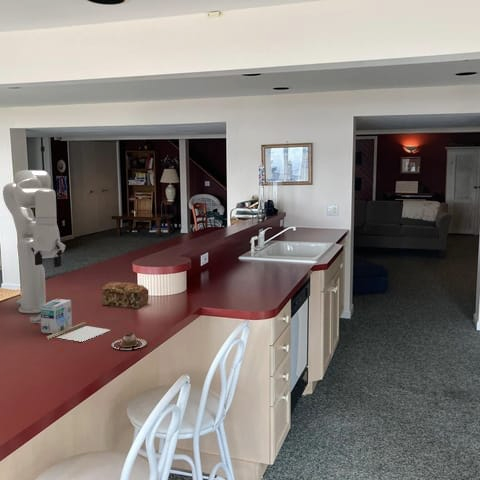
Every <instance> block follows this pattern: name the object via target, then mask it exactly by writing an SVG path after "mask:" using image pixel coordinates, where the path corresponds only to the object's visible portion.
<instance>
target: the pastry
mask: <svg viewBox="0 0 480 480" xmlns="http://www.w3.org/2000/svg"><path fill="white" fill-rule="evenodd" d="M137 340H138V341H140V342H141V343H142V345H141V344H140V345H141V346H140V345H139V346H140V347H139V346H138V347H137V345H138V344H139V343H138V342H137ZM120 341H121V343H120V344H119V345H120V346H121V347H122V349H120V350H119V348H120V347H118V348H116V347H114V344H115V343H117V342H120ZM147 343H148V342H147V341H146V340H145V339H142V338H137V337H136V335H135V334H133V332H126V333H124V336H122V339H121V338H120V339H117V340H116V341H114V342H113V341H112V343H111V347H112V348H114V350H115V349H116V350H119V351H122V350H123V351H124V350H127V351H133V350H132V348H134V349H137V348H140V349H142V348H145V346H146V345H147ZM122 345H123V346H122ZM132 346H135V347H132ZM123 347H130V348H123ZM137 350H138V349H137Z"/></svg>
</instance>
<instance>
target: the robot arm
mask: <svg viewBox="0 0 480 480" xmlns="http://www.w3.org/2000/svg"><path fill="white" fill-rule="evenodd" d="M51 181H52V180H51V177H50V174H49V173H48V171H46V170H43V169H24V170H23V169H22V170H19V171H18V172H16V173H15V175H14V176H13V182H10V183H7V184H5V185H4V187H3V190H2V197H3V201H4V204H5V206H6V209H8V212H9V213H10V214H11V216H12V218H13V219H12V220H13V223H14V227H15V231H16V233H17V236H18V238H19V241H18V242H17V246H16V247H17V248H16V249H17V253H18V258H19V265H20V279H21V280H20V282H21V297H20V298H19V300H16V304H19V305H20V306H19V307H18V312H20V313H24V314H36V313H37V314H39V313H41V306H40V305H42V304H45V303H47V297H46V296H47V295H46V277H45V276H46V273H45V267H44V265H43V259H49V258H50V259H51V258H53V267H54V268H59V267H62V256H63V255H64V253H65V249H66V244H64V243H63V242H61V236H60V235H61V234H60V230H59V227H58V223H57V221H58V220H57V198H56V197H57V196H56V195H57V194H56V191H55V189H52V188H50V187H51ZM31 208H35V211H34V212H35V216H34V212H33V210H32V209H31Z"/></svg>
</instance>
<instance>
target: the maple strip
mask: <svg viewBox="0 0 480 480" xmlns="http://www.w3.org/2000/svg"><path fill="white" fill-rule="evenodd" d="M82 326H83V327H85V326H87V322H85V321H84V322H81V323H79V324H76V325H73V326H72V327H70V328H68V329H65V330H62V331H60V332H57V333H54V334H49V335H47V336H46V339H47V338H48V339H47V340H50V339H49V338H51V339H53V338H52V337H54V338H56V337H55V336H57V337H59V336H61V335H60V334H62V335H64V334H66V333H65V332H67V333H69V332H68V331H70V332H72V331H74V330H73V329H75V330H77V329H80V328H82ZM79 327H80V328H79ZM76 328H77V329H76ZM71 330H72V331H71ZM63 333H64V334H63ZM58 335H59V336H58Z"/></svg>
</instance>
